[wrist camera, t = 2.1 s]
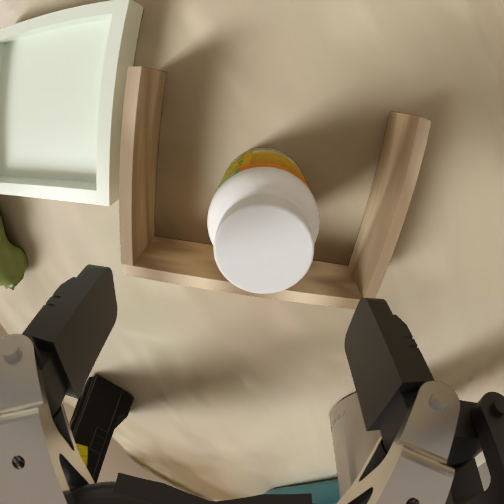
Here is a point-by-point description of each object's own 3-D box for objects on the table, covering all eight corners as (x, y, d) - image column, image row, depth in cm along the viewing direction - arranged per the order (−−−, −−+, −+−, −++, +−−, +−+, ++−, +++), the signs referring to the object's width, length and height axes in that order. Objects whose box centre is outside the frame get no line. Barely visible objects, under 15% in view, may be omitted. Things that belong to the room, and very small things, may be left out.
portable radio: (94, 366, 31) (20, 552, 8) (138, 392, 32) (84, 580, 10) (81, 391, 34) (21, 544, 12) (119, 413, 35) (72, 568, 13)
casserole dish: (267, 508, 57) (266, 531, 50) (234, 484, 47) (232, 515, 41) (413, 478, 50) (418, 502, 44) (425, 446, 40) (434, 477, 34)
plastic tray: (143, 7, 15) (129, -2, 12) (123, 194, 21) (109, 206, 19) (6, 35, 14) (-13, 34, 12) (0, 183, 21) (-18, 192, 18)
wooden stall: (399, 115, 18) (431, 120, 14) (354, 275, 24) (369, 310, 20) (155, 72, 17) (127, 66, 13) (144, 243, 23) (122, 274, 19)
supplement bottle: (236, 136, 19) (212, 166, 11) (314, 161, 20) (354, 211, 11) (215, 210, 22) (183, 289, 13) (288, 231, 22) (302, 320, 14)
